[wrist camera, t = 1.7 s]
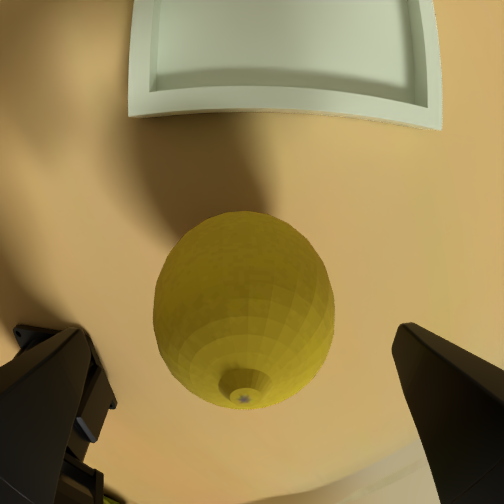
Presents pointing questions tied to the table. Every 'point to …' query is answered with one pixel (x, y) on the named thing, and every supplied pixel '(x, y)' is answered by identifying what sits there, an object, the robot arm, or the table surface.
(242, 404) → the lemon
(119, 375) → the table surface
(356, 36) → the dish
